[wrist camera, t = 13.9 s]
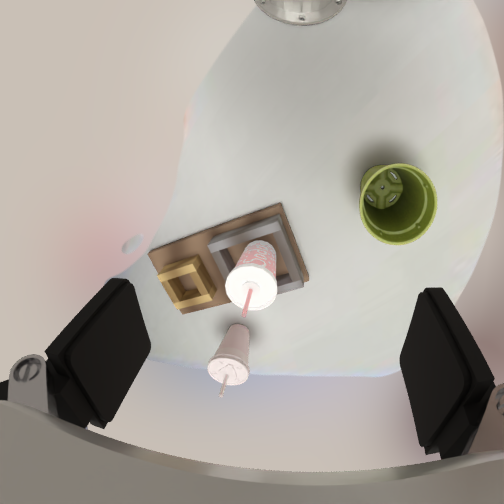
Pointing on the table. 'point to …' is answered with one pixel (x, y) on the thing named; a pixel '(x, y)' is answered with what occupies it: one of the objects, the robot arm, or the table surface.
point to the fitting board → (226, 259)
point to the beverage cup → (253, 278)
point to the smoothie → (231, 358)
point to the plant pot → (397, 203)
